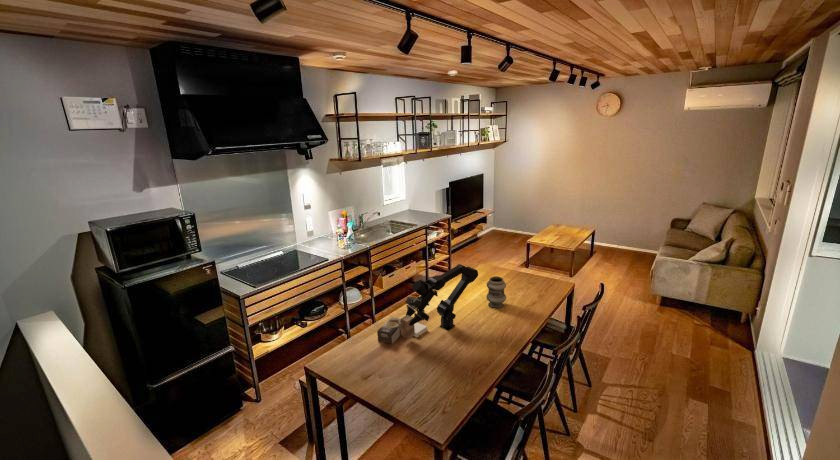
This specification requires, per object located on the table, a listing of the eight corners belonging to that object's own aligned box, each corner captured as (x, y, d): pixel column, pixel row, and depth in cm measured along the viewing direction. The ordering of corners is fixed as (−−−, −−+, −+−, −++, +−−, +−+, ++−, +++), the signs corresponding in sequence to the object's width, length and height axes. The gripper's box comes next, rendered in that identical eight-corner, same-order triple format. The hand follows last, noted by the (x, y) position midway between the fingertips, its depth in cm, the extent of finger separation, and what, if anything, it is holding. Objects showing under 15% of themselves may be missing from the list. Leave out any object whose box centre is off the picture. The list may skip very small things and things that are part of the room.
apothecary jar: (484, 308, 237) (484, 281, 231) (488, 299, 247) (488, 273, 242) (504, 311, 232) (504, 284, 227) (507, 302, 243) (508, 276, 238)
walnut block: (414, 334, 206) (413, 317, 202) (408, 338, 202) (407, 321, 199) (407, 331, 209) (406, 314, 206) (401, 335, 205) (400, 318, 202)
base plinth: (427, 330, 215) (427, 326, 215) (416, 337, 209) (416, 333, 208) (415, 325, 221) (415, 321, 221) (404, 332, 215) (404, 328, 214)
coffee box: (405, 319, 216) (391, 334, 202) (406, 329, 218) (392, 344, 204) (391, 316, 219) (376, 330, 205) (391, 326, 221) (377, 341, 207)
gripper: (407, 285, 209) (389, 308, 207) (423, 298, 193) (404, 323, 191) (421, 294, 214) (404, 317, 213) (437, 308, 198) (419, 333, 197)
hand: (407, 322), depth 203 cm, fingers closed on walnut block, 6 cm apart
